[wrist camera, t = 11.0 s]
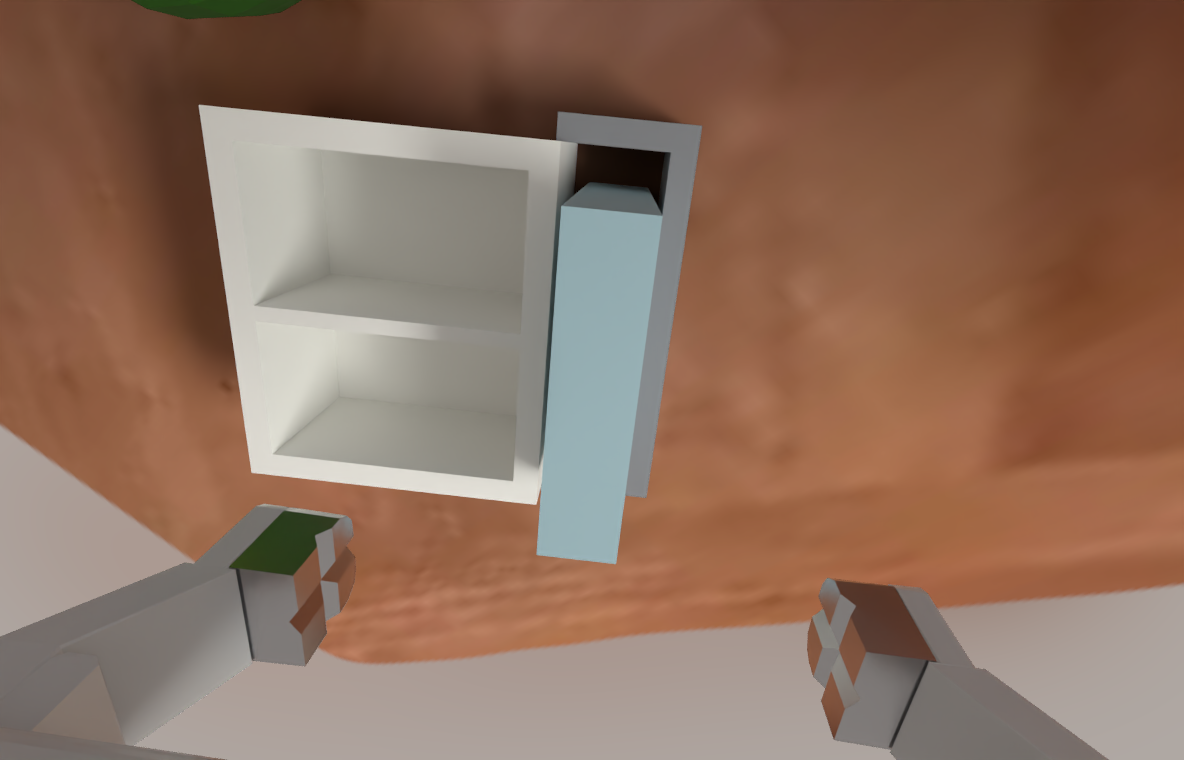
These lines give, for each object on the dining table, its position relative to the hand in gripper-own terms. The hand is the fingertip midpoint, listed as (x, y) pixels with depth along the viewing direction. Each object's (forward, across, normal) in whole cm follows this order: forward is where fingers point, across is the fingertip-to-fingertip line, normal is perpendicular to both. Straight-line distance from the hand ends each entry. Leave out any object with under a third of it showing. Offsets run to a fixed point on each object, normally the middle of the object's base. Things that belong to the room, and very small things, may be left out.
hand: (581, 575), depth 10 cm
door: (+19, +1, 0) cm, 19 cm away
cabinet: (+19, +6, 0) cm, 20 cm away
